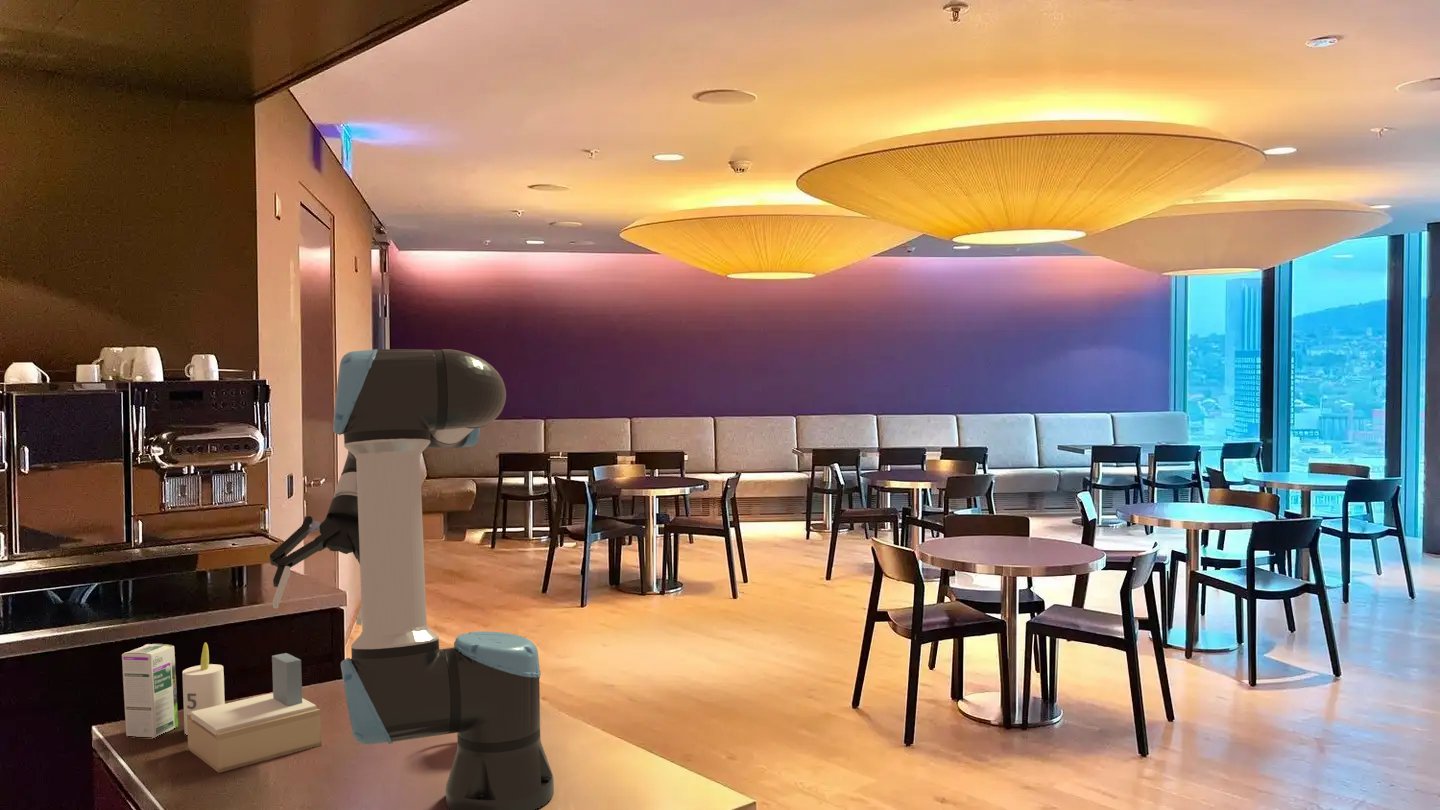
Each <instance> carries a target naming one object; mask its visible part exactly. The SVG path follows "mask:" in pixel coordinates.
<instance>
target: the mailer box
mask: <svg viewBox="0 0 1440 810" xmlns="http://www.w3.org/2000/svg"><path fill="white" fill-rule="evenodd" d="M321 712H322V711H321V709H320V708H316V709H315V710H311V711H307V712H302V713H298V714H294V715H290V716H286V717H282V718H278V719H274V720H270V721H266V722H262V723H258V724H253V725H249V726H245V727H241V728H237V729H233V730H229V731H225V732H221V733H217V734H216V735H214V734H213V733H212V732H210V731H209V730H207V729H206V728H204V727H203V726H202V725H200V724H199V723H197V722H196V721H194V720H193V719H192V718H191V713H187V729H188V736H187V749H188V751H189V752H191V753H192V754H193V755H195V756H197V758H199V759H200V760H202V762H204V763H205V764H207V765H208V766H209V767H210V768H211V769H213V770H214V771H216V772H217V773H218V774H220V773H221V774H222V773H224V772H228V771H231V770H235V769H238V768H244V767H246V766H251V765H253V764H258V763H261V762H265V761H268V760H272V759H276V758H280V757H284V756H287V755H290V754H294V752H295V753H298V751H299V752H303V751H305V749H306V750H309V748H310V749H313V748H317V747H321V746H322V717H321V715H322V714H321ZM312 747H313V748H312Z"/></svg>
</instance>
